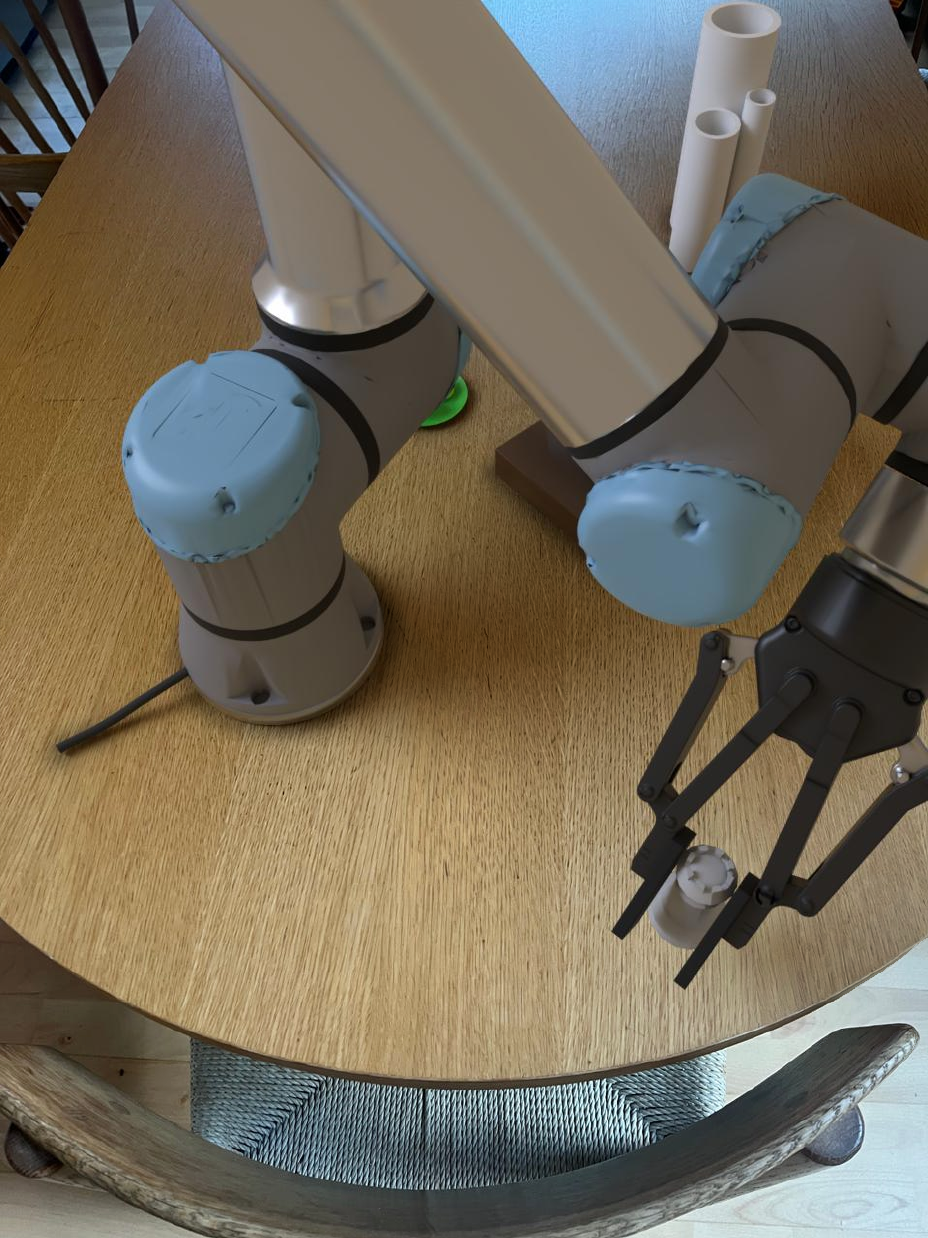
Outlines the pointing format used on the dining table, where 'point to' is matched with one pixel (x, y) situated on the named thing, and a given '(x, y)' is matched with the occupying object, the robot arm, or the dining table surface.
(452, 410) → the green plate with lemons
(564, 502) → the step shelf
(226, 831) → the dining table surface
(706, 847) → the rook chess piece
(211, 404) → the robot arm
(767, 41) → the vase
